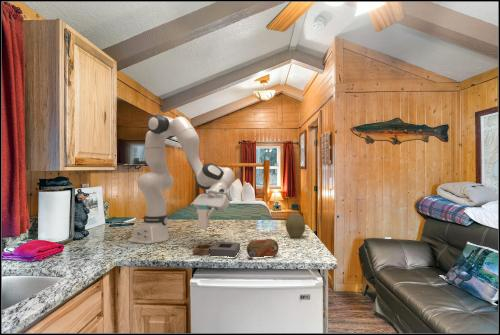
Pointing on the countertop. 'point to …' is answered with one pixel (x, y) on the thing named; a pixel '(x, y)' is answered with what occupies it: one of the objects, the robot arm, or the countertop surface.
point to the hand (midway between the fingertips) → (202, 215)
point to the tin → (262, 248)
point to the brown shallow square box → (202, 249)
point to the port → (225, 249)
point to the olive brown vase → (295, 225)
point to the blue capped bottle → (203, 216)
